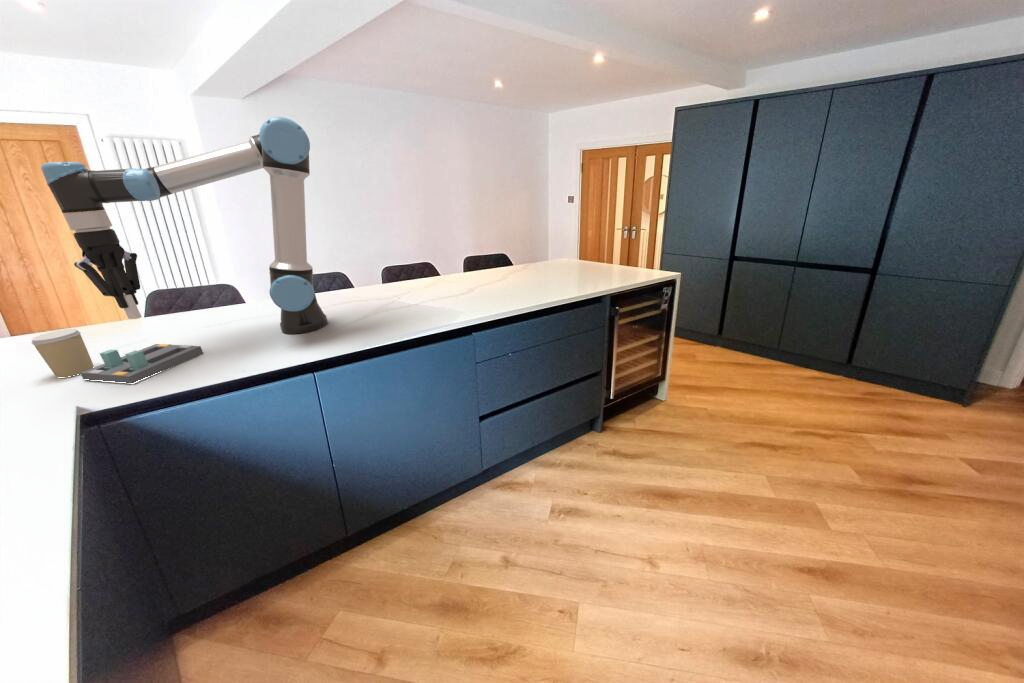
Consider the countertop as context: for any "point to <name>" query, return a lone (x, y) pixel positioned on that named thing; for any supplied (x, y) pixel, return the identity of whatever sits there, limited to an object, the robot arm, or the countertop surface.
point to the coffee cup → (63, 352)
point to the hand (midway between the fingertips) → (135, 317)
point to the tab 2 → (136, 360)
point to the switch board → (155, 354)
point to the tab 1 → (111, 359)
